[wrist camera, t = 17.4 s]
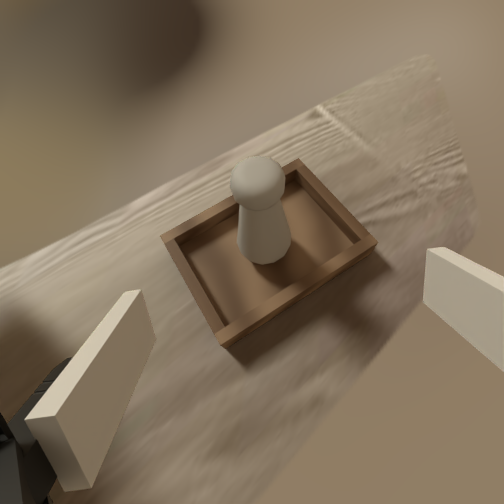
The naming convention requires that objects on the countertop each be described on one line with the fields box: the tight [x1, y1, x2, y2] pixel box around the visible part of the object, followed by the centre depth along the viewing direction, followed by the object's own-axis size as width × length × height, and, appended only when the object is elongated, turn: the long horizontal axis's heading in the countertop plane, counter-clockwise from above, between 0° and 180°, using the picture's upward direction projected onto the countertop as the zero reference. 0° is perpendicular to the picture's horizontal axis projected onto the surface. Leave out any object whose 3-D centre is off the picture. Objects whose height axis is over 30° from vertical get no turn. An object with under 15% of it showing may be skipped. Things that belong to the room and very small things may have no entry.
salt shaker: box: [230, 156, 291, 265], centre depth 27 cm, size 6×6×13 cm
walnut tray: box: [160, 158, 378, 349], centre depth 33 cm, size 19×14×3 cm
